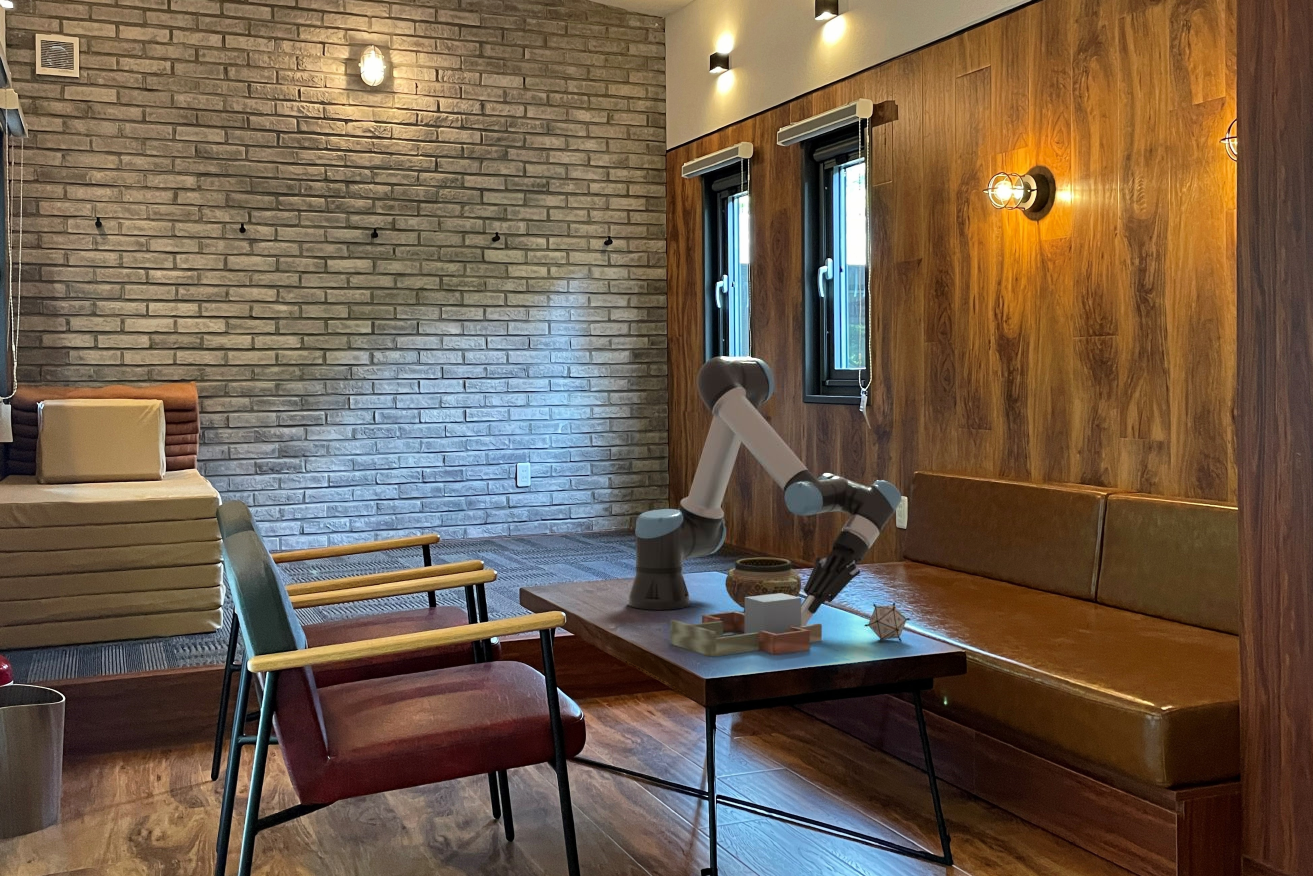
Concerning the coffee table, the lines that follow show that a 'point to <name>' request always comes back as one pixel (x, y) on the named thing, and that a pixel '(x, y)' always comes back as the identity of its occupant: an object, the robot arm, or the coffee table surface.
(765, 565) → the ceramic bowl
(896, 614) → the game die
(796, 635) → the low zigzag wall
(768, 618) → the slate block
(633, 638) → the coffee table surface
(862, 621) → the coffee table surface
